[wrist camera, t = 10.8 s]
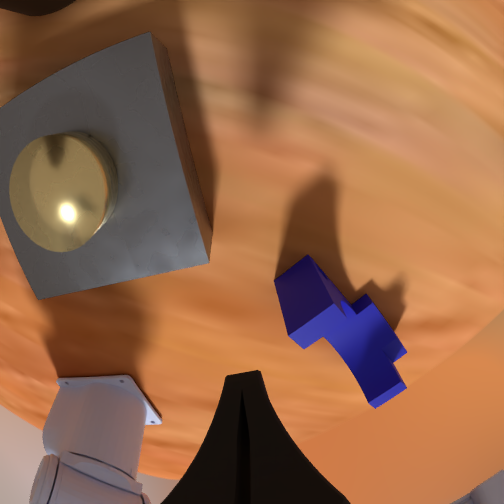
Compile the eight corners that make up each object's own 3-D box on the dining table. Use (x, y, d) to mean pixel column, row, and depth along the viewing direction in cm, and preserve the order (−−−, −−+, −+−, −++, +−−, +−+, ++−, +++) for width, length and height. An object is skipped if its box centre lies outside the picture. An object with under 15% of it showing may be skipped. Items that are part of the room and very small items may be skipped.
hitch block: (62, 270, 19) (38, 300, 16) (12, 120, 14) (-24, 126, 11) (212, 233, 19) (209, 262, 15) (166, 48, 14) (150, 31, 10)
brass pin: (77, 224, 18) (35, 263, 13) (50, 147, 15) (-3, 164, 10) (150, 199, 17) (120, 234, 12) (123, 113, 15) (80, 114, 10)
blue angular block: (393, 330, 24) (422, 376, 19) (353, 359, 26) (375, 408, 20) (324, 239, 20) (357, 285, 15) (273, 279, 21) (288, 335, 16)
